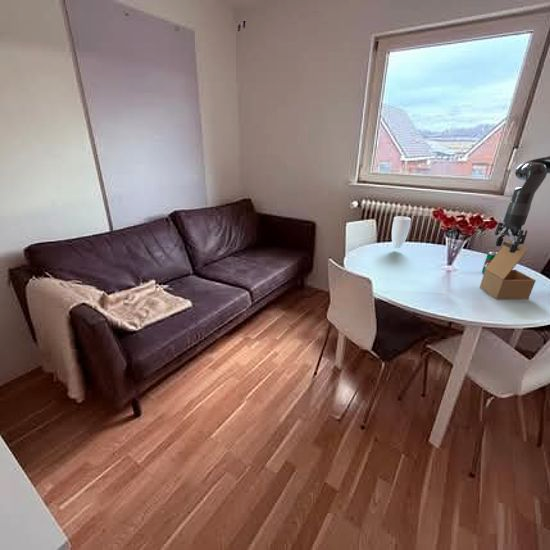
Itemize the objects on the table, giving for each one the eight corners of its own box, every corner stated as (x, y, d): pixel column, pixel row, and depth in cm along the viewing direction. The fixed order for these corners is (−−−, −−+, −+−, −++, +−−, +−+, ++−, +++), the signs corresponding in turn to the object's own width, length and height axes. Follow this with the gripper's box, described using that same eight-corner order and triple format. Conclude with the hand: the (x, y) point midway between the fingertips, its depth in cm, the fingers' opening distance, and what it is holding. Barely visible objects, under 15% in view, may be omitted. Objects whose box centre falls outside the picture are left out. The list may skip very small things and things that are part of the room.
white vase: (385, 248, 202) (391, 215, 193) (402, 249, 201) (408, 216, 192) (389, 253, 193) (396, 219, 184) (407, 254, 192) (414, 220, 183)
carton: (509, 287, 152) (515, 269, 148) (528, 299, 141) (535, 280, 137) (479, 287, 151) (485, 269, 147) (496, 299, 140) (503, 280, 137)
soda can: (494, 275, 165) (501, 254, 160) (483, 274, 165) (490, 253, 160) (489, 271, 169) (496, 251, 164) (479, 271, 170) (486, 250, 165)
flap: (508, 240, 142) (500, 236, 141) (529, 249, 131) (520, 245, 130) (485, 269, 147) (478, 265, 146) (503, 279, 136) (495, 275, 136)
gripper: (539, 216, 124) (525, 254, 131) (513, 209, 137) (501, 244, 144) (521, 216, 124) (508, 254, 130) (496, 208, 137) (485, 243, 143)
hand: (504, 249), depth 137 cm, fingers open, 8 cm apart
